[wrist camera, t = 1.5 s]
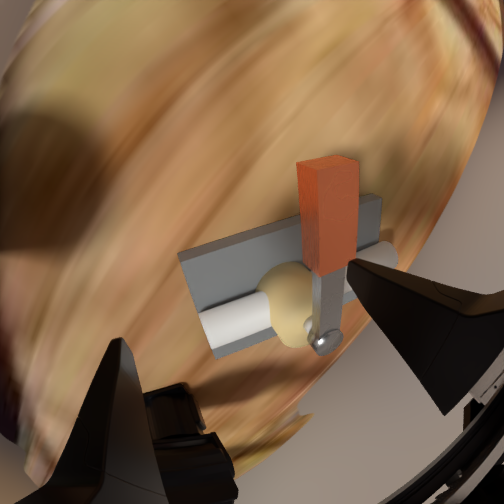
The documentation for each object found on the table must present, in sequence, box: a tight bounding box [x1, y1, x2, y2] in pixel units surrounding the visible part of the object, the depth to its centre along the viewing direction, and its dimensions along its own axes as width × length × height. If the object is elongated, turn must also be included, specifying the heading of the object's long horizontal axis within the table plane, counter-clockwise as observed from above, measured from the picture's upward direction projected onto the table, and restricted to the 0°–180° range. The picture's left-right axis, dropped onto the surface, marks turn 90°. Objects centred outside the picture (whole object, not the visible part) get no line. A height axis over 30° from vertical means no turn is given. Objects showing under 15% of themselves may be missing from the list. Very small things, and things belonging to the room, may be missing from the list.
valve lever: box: [296, 155, 359, 356], centre depth 17 cm, size 14×3×2 cm, turn 8°
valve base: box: [177, 194, 398, 359], centre depth 24 cm, size 20×12×8 cm, turn 98°
